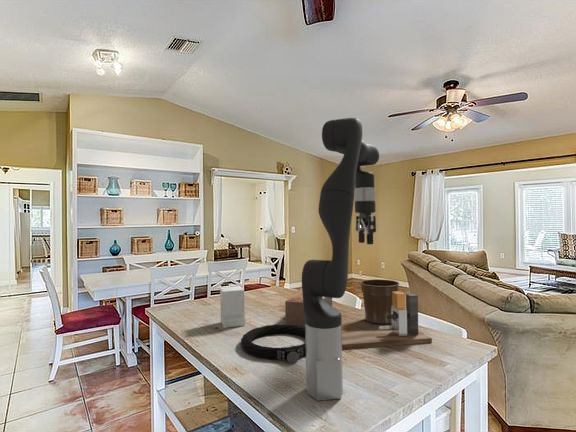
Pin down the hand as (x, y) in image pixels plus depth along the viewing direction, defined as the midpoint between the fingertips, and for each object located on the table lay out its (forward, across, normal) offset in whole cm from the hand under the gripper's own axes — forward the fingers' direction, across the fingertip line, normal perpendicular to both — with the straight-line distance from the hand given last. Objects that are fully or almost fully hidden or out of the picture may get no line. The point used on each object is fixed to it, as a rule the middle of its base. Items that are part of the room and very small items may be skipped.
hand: (365, 243), depth 129 cm
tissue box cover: (+35, +26, +16) cm, 46 cm away
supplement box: (+34, +23, +50) cm, 65 cm away
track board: (+34, -6, -2) cm, 35 cm away
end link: (+32, -6, -7) cm, 34 cm away
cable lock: (+35, -5, +33) cm, 48 cm away
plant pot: (+34, +16, -12) cm, 40 cm away
